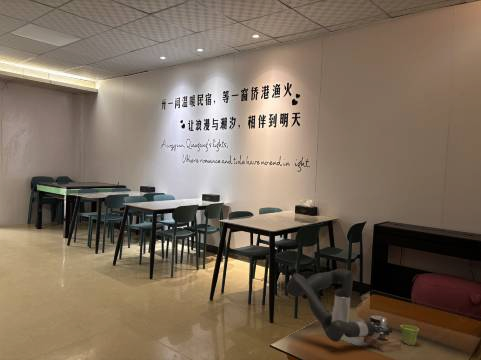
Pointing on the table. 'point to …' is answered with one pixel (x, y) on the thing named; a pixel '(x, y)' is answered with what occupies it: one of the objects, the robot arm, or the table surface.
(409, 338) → the plant pot
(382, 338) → the steel pin
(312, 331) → the table surface
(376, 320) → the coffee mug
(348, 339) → the mat
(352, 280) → the robot arm
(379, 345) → the socket block
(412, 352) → the table surface
